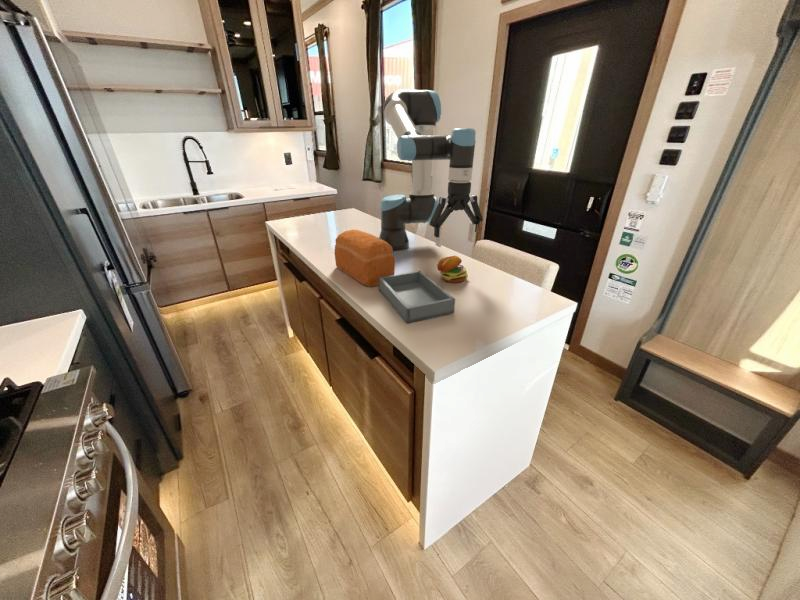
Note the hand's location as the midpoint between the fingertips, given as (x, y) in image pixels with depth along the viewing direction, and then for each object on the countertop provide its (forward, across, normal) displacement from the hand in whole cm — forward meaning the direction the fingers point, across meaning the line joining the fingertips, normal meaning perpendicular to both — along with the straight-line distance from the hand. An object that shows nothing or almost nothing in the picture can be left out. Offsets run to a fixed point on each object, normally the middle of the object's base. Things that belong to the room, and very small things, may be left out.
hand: (454, 243), depth 115 cm
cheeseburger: (+14, 0, 0) cm, 14 cm away
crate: (+14, -21, -11) cm, 27 cm away
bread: (+14, -29, +18) cm, 37 cm away
